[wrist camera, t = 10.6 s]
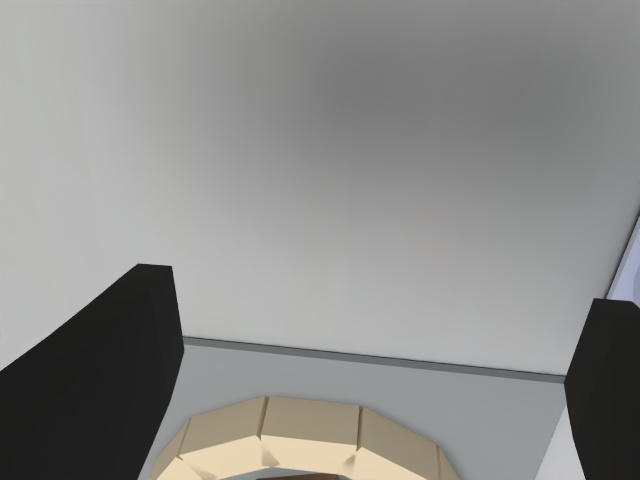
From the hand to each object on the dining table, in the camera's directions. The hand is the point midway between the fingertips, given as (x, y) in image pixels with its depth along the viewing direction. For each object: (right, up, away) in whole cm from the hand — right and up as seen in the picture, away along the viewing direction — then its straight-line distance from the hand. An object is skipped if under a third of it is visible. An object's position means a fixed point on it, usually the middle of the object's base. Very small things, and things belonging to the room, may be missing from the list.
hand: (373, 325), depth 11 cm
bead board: (-1, -11, +19) cm, 22 cm away
